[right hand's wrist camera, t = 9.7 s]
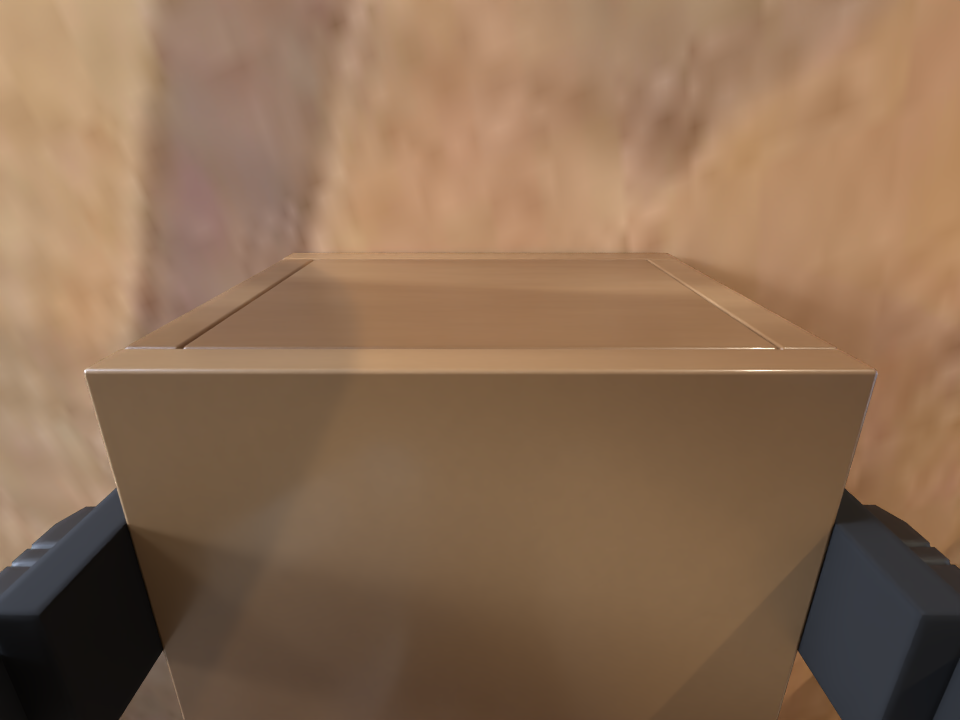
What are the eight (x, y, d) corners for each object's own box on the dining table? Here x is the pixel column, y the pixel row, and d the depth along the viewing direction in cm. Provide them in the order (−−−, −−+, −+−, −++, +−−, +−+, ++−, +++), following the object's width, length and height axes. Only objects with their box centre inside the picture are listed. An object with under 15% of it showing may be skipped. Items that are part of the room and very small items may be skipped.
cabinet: (618, 651, 22) (705, 971, 13) (342, 650, 22) (254, 970, 13) (668, 252, 16) (882, 370, 7) (292, 253, 16) (79, 370, 7)
